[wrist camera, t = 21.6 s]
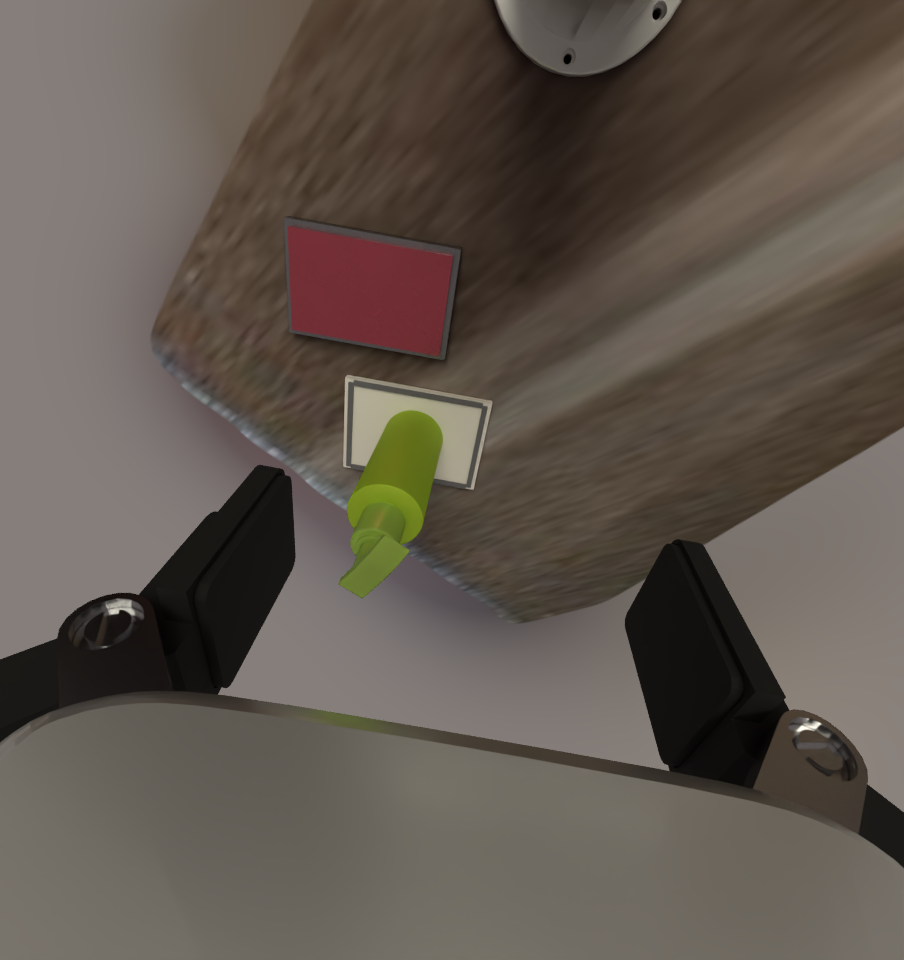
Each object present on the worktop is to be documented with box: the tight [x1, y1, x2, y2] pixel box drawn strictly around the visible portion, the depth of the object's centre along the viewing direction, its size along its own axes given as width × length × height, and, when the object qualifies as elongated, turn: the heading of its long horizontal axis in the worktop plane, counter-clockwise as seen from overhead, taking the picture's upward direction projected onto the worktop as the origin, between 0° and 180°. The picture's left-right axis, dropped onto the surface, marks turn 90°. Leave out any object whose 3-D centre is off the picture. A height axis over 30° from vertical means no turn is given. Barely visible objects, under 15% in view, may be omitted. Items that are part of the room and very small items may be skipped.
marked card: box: [343, 375, 492, 490], centre depth 46 cm, size 10×14×1 cm
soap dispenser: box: [339, 410, 443, 598], centre depth 37 cm, size 6×7×20 cm
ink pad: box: [284, 216, 462, 360], centre depth 39 cm, size 9×14×2 cm, turn 81°
